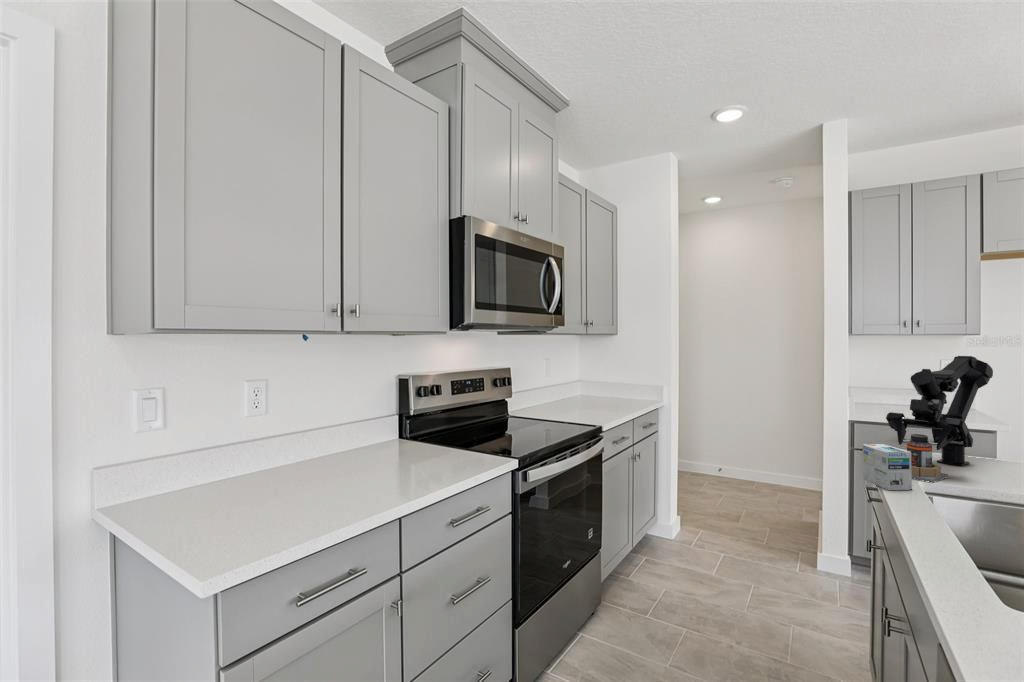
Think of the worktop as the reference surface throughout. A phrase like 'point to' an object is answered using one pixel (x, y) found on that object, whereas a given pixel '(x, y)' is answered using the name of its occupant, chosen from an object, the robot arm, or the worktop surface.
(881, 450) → the light bulb box
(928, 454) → the supplement bottle
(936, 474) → the bottle socket
